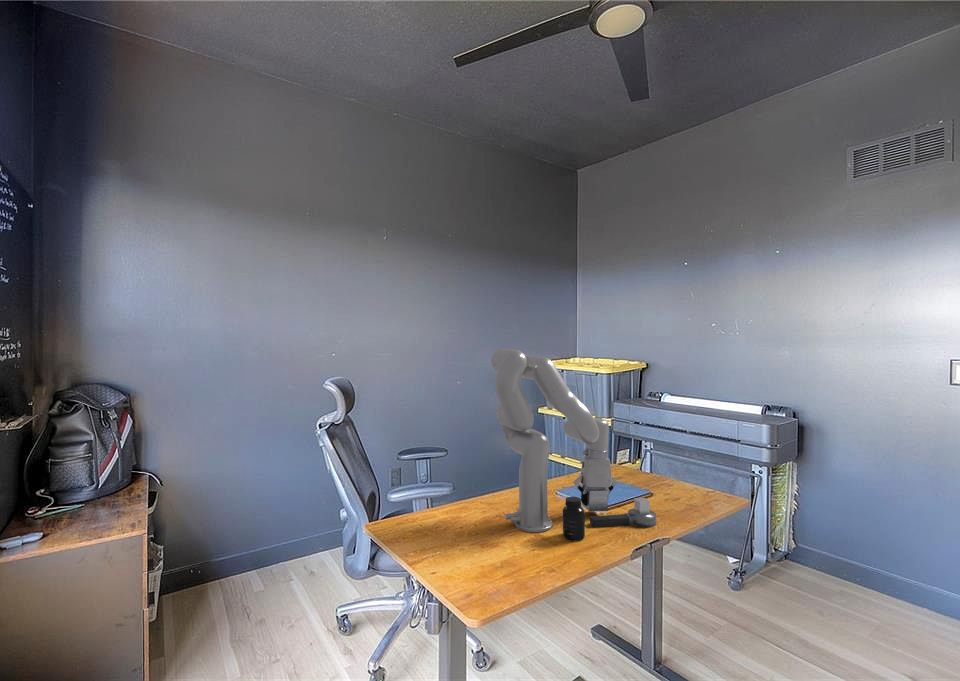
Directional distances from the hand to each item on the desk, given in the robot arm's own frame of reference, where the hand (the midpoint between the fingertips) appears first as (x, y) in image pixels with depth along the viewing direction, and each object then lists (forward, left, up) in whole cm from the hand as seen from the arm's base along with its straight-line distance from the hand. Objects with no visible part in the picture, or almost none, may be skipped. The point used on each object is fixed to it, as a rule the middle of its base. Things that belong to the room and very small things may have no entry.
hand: (594, 503), depth 162 cm
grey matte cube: (0, 0, -1) cm, 1 cm away
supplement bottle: (-14, -16, -4) cm, 21 cm away
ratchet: (+7, -9, -4) cm, 12 cm away
